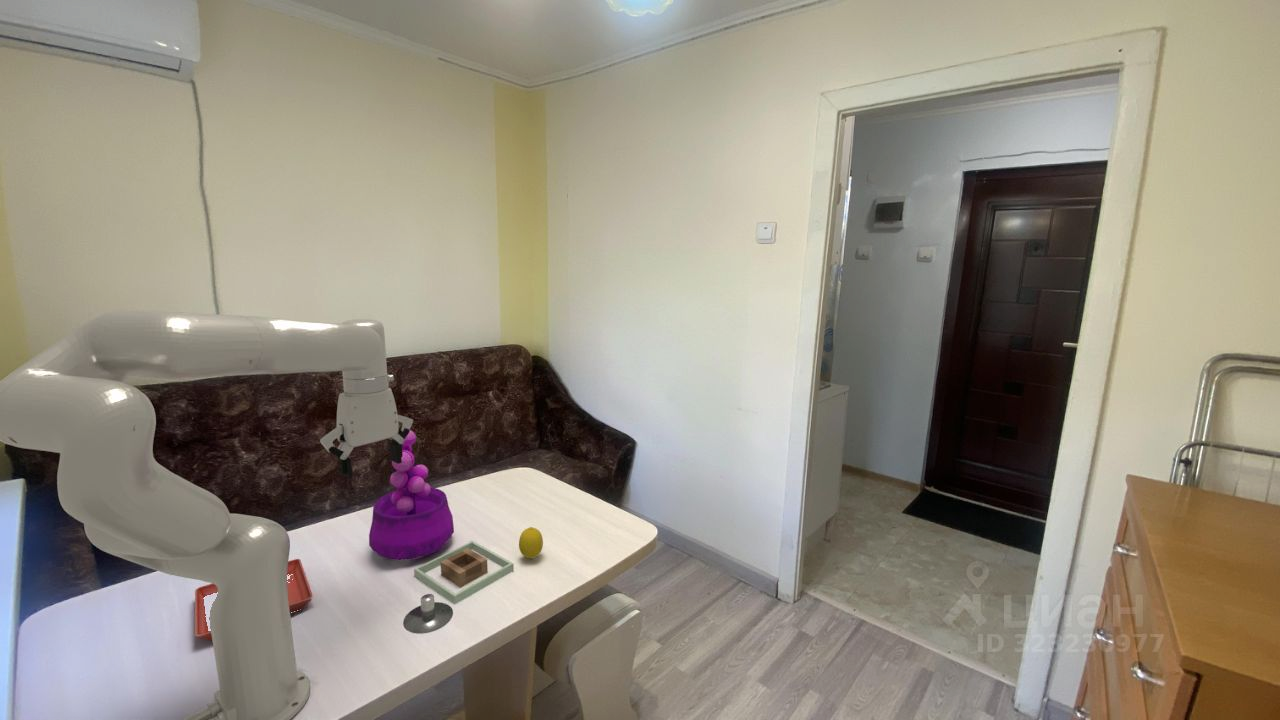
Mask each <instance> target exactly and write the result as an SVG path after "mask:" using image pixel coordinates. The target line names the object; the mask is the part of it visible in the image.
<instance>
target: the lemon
mask: <svg viewBox="0 0 1280 720" xmlns="http://www.w3.org/2000/svg"><path fill="white" fill-rule="evenodd" d="M543 546H544V539H543V535H542V533H541V531H540V530H539V529H537V528H536V527H532V526H530V527H527V528H525V529H524V530H523V531H522V533H521V534H520V536H519V540H518V547H519V548H518V549H519V552H520V553H521V555H522V556H524V557H525V558H528V559H530V560H533V558H536V557H538V556H539V555H540V553H541V552H542V550H543Z"/></svg>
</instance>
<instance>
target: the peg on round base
mask: <svg viewBox="0 0 1280 720" xmlns="http://www.w3.org/2000/svg"><path fill="white" fill-rule="evenodd" d="M453 616H454V610H453V608H452V606H450V604H447V603H445V602H438V601H435V596H434V594H432V593H426V594H424V595H422V596H421V597H420V605H419V606H416V607H415V608H413V609H411V610H410V611H409V612H408V613H406V615H405V617H404V618H403V621H402V622H403V623H402V625H403V627H404V629H405V631H408V632H409V633H411V634H412V633H413V634H418V635H419V634H420V635H421V634H423V635H424V634H428V633H429V634H430V633H432V632H435V631H438V630H440V629H442V628H444V627H445V626H446V625H448V624H449V622H450V621H451V620H452V618H453Z"/></svg>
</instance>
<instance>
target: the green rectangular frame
mask: <svg viewBox="0 0 1280 720" xmlns="http://www.w3.org/2000/svg"><path fill="white" fill-rule="evenodd" d="M466 549H470V550H472V551H473V552H475V553H477V554H479V555H481V556H482V557H484V558H486V559H487V560H490V561H492V562H494V563H496V564H498V565H499V566H500V568H498V569H497V570H496V571H494V572H491V573H490V574H488V575H487V576H484V577H483V578H481V579H480V580H478V581H476V582H474V583H473V584H470V585H469V586H467V587H465V588H463V589H461V590H460V591H457V592H456V593H455V592H454V591H452V590H450V588H447V587H446V586H444V585H443V584H441V582H439V581H437V580H436V579H434V578H433V577H431V576H429V575H428V574H427V573H428V572H430V571H431V570H433V569H435V568H437V567H441V561H443V560H445V559H447V558H449V557H451V556H453V555H456V554H458V553H460V552H462V551H464V550H466ZM514 568H515V567H514V563H513V562H512V561H510V560H508V559H506V558H504V557H503V556H501V555H500V554H497V553H495V552H494V551H492V550H490V549H488V548H487V547H484V546H483V545H481V544H479V543H478V542H475V541H473V540H471V541H469V542H467V543H465V544H463V545H461V546H459V547H456V548H455V549H453V550H450V551H449V552H448V551H447V553H444V554H442V555H440V556H438V557H436V558H434V559H432V560H430V561H428V562H426V563H424V564H421V565H419V566H417V567H415V568H414V569H413V574H414V577H415V578H416V579H418V580H419V581H421V582H422V583H424V584H425V585H426V586H428V587H429V588H430V589H432V590H433V591H435V592H437V593H438V594H440V595H441V596H442V597H444V598H446V600H448V601H450V602H451V603H452V604H454V605H456V604H457V603H460V602H462V601H463V600H464V599H467V598H468V597H470V596H472V595H473V594H475V593H477V592H478V591H480V590H482V589H483V588H486V587H487V586H489V585H491V584H493V583H494V582H496V581H498V580H500V579H502V578H503V577H504V576H507V575H508V574H510V573H514Z"/></svg>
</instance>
